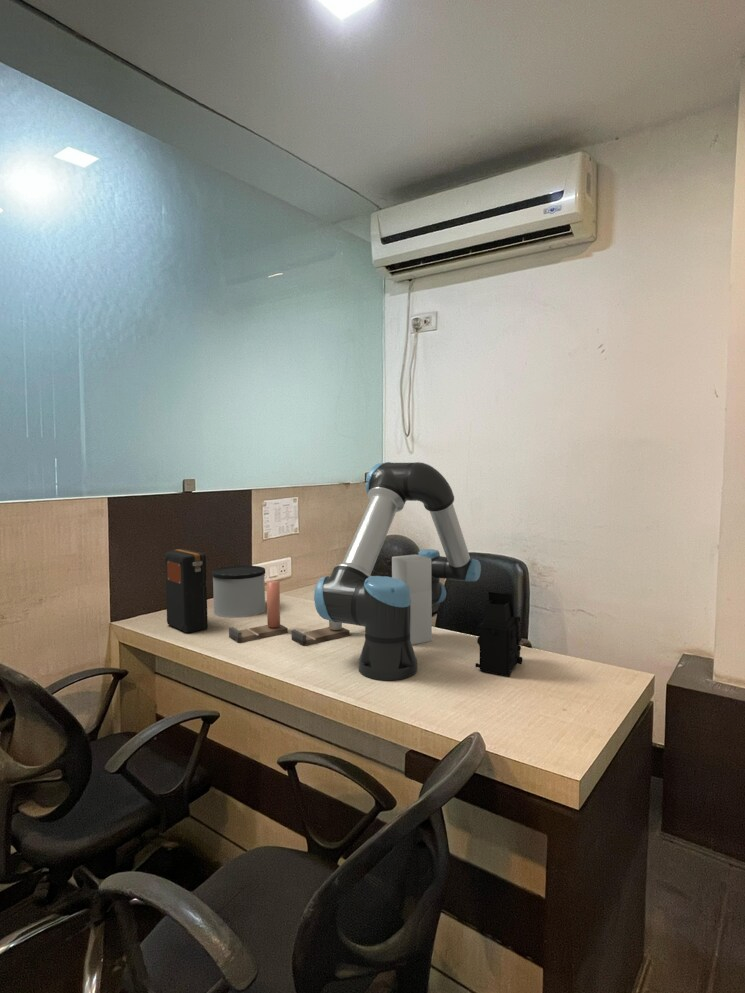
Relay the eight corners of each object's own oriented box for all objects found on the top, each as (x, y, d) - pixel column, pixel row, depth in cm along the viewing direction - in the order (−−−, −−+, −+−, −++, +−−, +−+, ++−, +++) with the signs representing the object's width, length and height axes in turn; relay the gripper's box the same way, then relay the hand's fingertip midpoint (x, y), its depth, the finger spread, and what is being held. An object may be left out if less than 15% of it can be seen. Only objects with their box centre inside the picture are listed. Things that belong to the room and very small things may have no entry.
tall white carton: (391, 637, 168) (391, 556, 167) (416, 633, 172) (416, 554, 171) (406, 646, 160) (406, 561, 159) (432, 641, 164) (431, 558, 163)
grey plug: (337, 625, 175) (337, 581, 174) (344, 628, 171) (343, 583, 171) (326, 627, 172) (326, 583, 171) (333, 630, 169) (332, 585, 168)
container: (231, 621, 188) (230, 577, 187) (202, 611, 201) (201, 570, 200) (276, 610, 201) (275, 569, 200) (247, 601, 214) (246, 563, 213)
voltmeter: (211, 629, 178) (209, 552, 177) (186, 635, 172) (183, 556, 171) (188, 619, 189) (186, 547, 188) (163, 625, 183) (161, 550, 182)
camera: (527, 662, 147) (528, 587, 146) (512, 679, 135) (513, 598, 134) (491, 655, 152) (491, 583, 151) (473, 671, 140) (474, 593, 139)
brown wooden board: (335, 629, 177) (335, 619, 177) (351, 636, 170) (351, 626, 170) (290, 639, 168) (289, 629, 167) (304, 646, 160) (304, 636, 160)
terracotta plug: (276, 622, 178) (276, 580, 177) (282, 625, 175) (281, 582, 174) (265, 625, 175) (264, 581, 175) (270, 628, 172) (270, 583, 171)
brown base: (276, 626, 180) (276, 617, 180) (289, 633, 173) (288, 624, 173) (227, 636, 171) (227, 626, 171) (239, 643, 164) (239, 633, 163)
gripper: (419, 613, 184) (361, 625, 170) (395, 605, 194) (339, 616, 180) (419, 590, 183) (361, 601, 169) (395, 584, 194) (338, 593, 180)
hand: (350, 609), depth 175 cm, fingers closed
